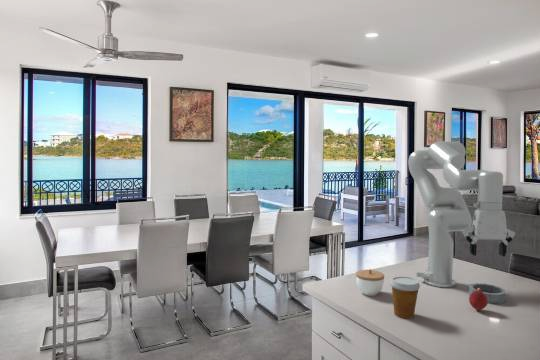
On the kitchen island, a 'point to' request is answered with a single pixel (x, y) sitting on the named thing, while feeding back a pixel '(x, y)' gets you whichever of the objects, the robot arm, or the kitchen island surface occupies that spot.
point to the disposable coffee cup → (404, 296)
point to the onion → (478, 299)
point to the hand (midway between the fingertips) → (487, 255)
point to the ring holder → (489, 292)
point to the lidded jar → (369, 281)
